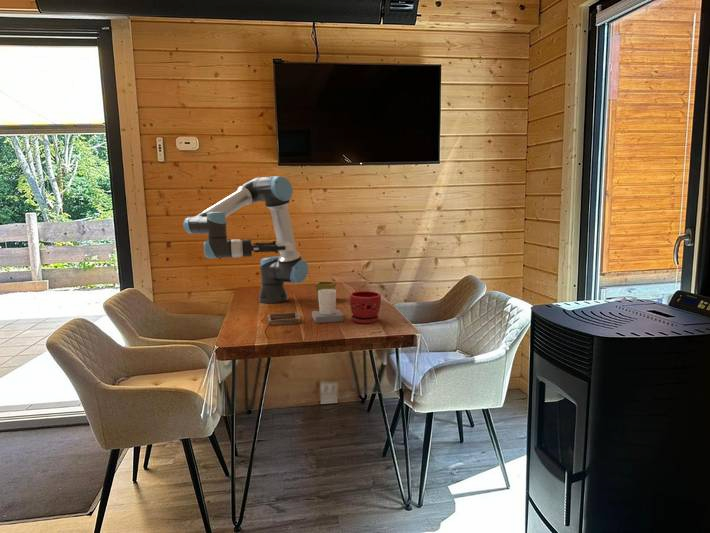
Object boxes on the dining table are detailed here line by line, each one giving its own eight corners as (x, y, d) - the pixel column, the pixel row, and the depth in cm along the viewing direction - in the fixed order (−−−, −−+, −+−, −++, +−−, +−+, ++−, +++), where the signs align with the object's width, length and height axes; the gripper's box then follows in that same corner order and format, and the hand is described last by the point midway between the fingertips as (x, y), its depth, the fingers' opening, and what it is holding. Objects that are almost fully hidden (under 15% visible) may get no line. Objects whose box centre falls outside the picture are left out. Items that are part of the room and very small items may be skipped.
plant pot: (348, 324, 199) (347, 296, 197) (352, 317, 212) (352, 290, 210) (379, 325, 197) (379, 296, 196) (382, 317, 210) (382, 290, 209)
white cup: (339, 311, 212) (338, 289, 211) (332, 315, 205) (332, 292, 204) (322, 310, 215) (321, 288, 213) (315, 314, 207) (314, 292, 206)
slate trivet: (312, 316, 215) (312, 311, 214) (338, 314, 217) (338, 309, 217) (315, 323, 203) (315, 317, 203) (343, 321, 206) (343, 315, 205)
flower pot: (315, 301, 249) (315, 284, 248) (320, 297, 257) (320, 281, 256) (331, 301, 247) (331, 284, 246) (336, 298, 255) (336, 281, 254)
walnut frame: (267, 318, 213) (267, 314, 213) (297, 316, 216) (296, 312, 215) (268, 325, 200) (268, 321, 200) (300, 323, 203) (299, 318, 203)
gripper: (242, 253, 218) (289, 251, 222) (242, 260, 194) (294, 257, 198) (241, 237, 217) (289, 235, 221) (241, 241, 193) (294, 239, 197)
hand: (291, 246), depth 210 cm, fingers open, 13 cm apart
